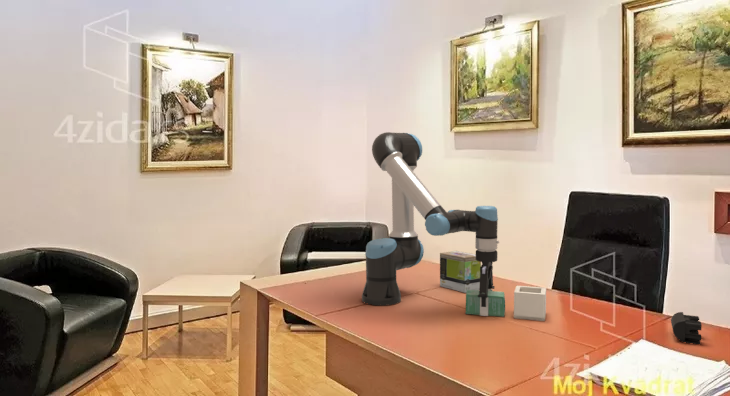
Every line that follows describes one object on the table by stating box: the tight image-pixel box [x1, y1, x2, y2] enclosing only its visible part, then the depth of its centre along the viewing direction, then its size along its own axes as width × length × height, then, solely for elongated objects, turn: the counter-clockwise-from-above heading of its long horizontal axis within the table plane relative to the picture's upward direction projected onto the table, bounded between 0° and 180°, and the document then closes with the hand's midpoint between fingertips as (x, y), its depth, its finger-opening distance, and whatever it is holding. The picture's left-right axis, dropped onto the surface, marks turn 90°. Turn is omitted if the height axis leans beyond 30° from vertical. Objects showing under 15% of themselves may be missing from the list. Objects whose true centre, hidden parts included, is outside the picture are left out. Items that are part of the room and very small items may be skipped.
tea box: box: [439, 250, 482, 294], centre depth 221 cm, size 15×10×15 cm
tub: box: [513, 285, 547, 322], centre depth 182 cm, size 10×10×9 cm
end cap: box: [670, 311, 702, 345], centre depth 158 cm, size 10×7×7 cm
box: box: [464, 290, 506, 318], centre depth 186 cm, size 7×14×8 cm, turn 77°
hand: (486, 311), depth 187 cm, fingers open, 11 cm apart
